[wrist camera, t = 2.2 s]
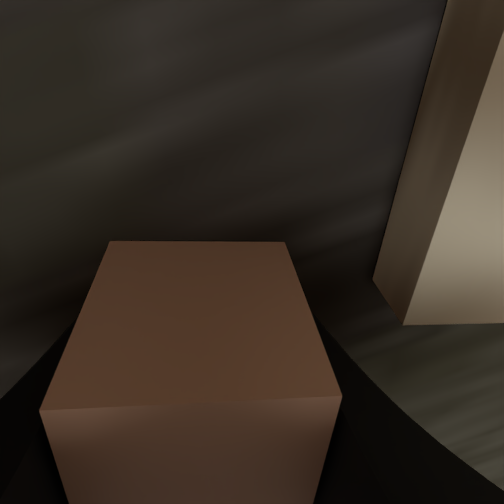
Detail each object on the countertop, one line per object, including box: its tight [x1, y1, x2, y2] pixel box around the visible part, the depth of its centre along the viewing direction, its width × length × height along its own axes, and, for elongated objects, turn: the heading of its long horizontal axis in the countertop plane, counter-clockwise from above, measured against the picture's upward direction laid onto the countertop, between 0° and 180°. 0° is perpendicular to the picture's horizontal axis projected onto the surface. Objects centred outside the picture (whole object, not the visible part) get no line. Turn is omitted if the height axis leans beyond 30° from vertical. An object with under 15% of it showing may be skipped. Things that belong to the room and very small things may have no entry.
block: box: [39, 241, 342, 504], centre depth 9 cm, size 4×4×5 cm
